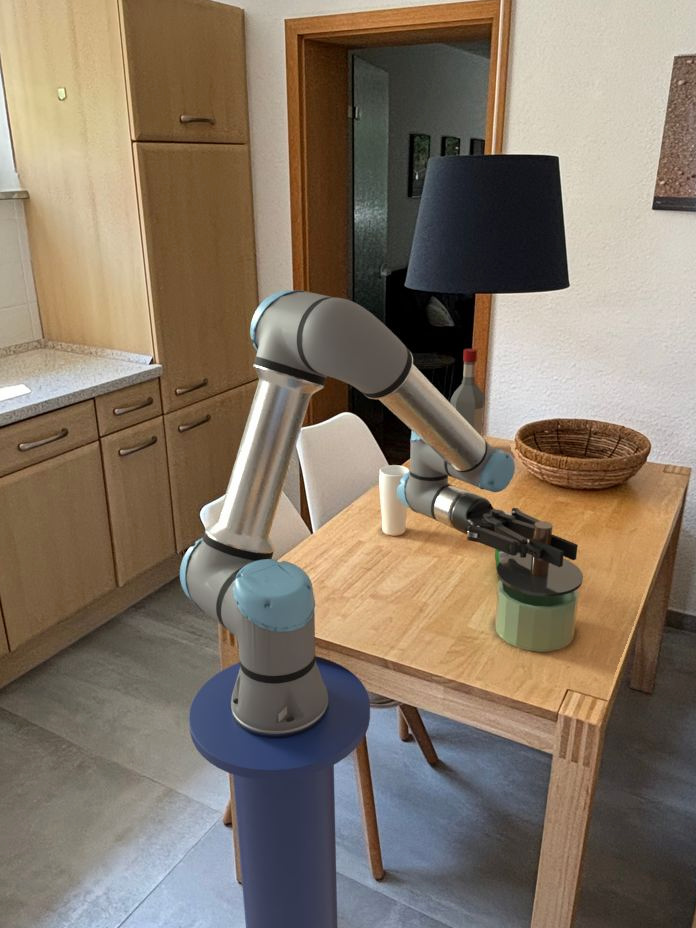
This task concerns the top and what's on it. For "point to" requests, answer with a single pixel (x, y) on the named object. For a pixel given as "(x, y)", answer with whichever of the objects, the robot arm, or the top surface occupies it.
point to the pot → (535, 619)
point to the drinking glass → (392, 500)
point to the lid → (539, 570)
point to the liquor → (470, 394)
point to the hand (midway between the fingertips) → (568, 555)
